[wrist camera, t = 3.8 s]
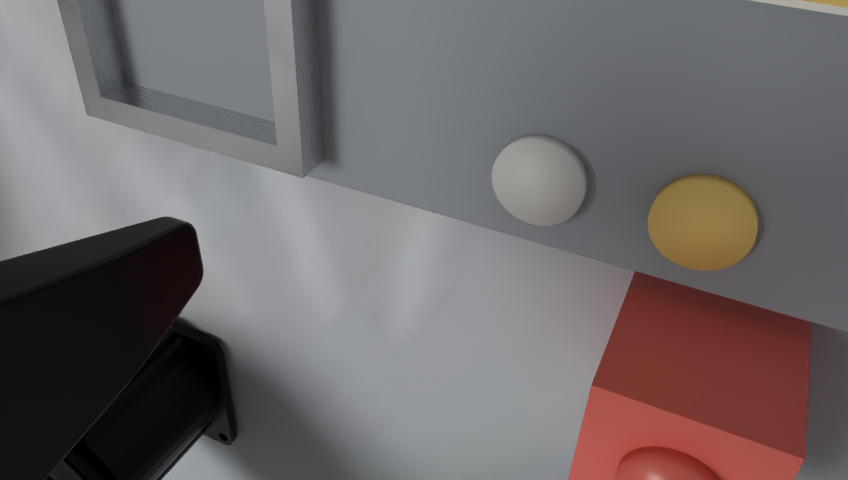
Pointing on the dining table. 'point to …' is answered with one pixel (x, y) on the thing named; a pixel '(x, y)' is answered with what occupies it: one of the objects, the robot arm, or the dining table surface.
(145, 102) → the socket
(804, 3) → the yellow-striped white slab
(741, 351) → the red block
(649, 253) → the panel
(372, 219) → the dining table surface
